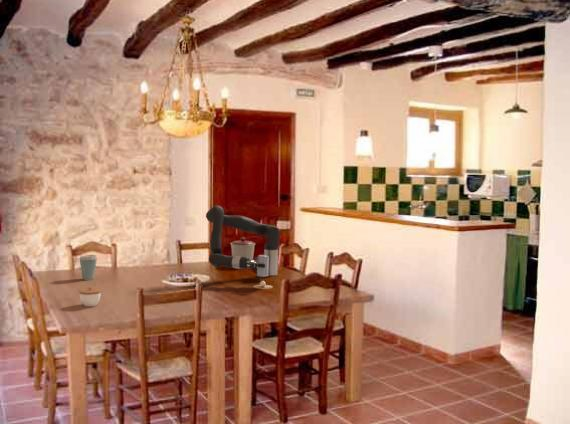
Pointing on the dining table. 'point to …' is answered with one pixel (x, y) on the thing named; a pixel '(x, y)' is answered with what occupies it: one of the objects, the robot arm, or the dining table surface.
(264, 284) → the egg
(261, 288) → the cork mat
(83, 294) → the lidded jar
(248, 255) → the canister
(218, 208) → the robot arm
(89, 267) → the disposable coffee cup
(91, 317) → the dining table surface
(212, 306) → the dining table surface
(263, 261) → the silver soda can
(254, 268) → the ice cream bowl
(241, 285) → the dining table surface
